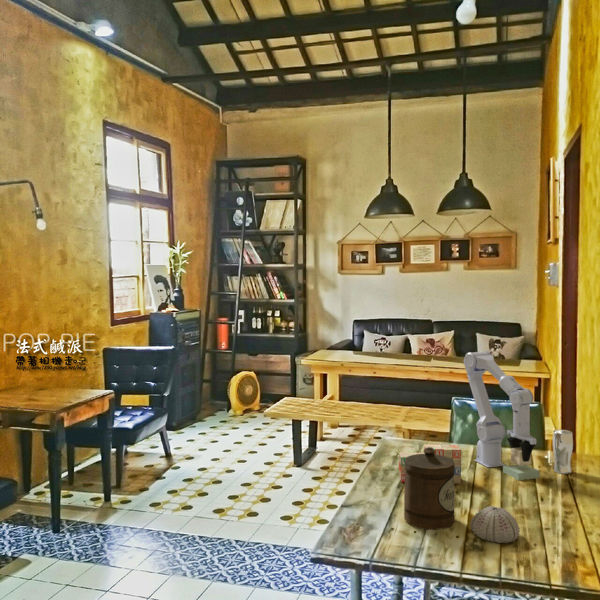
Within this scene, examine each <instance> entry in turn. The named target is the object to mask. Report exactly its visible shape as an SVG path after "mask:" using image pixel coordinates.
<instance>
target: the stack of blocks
mask: <svg viewBox="0 0 600 600" xmlns="http://www.w3.org/2000/svg"><path fill="white" fill-rule="evenodd" d="M427 447H431V448H433V449H434V450H435V454H436V455H442V456H446V457H449V458H451V459H452V460H453V461H454V463H455V472H454V484H462V449H461V447H460V446H459V445H458V444H456V445H455V444H452V445H451V444H423V450H424V449H426V448H427ZM416 454H425V453H424V452H399V453H398V477H399V480H401V481H400V482H401V483H405V459H406V458H407V457H408V456H411V455H416Z"/></svg>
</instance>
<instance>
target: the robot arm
mask: <svg viewBox="0 0 600 600" xmlns="http://www.w3.org/2000/svg"><path fill="white" fill-rule="evenodd" d="M463 364H464V368H465V371H466V377H467V379H468V380H467V381H468V384H469V387H470V389H471V393H472V397H473V401H474V403H475V405H476V409H477V412H478V416H479V419H478V420H477V422H476V424H475V425H476V434H477V437H478V439H479V440H478V441H477V443H476V459H474V461H475V462H477V463H478V464H480V465H483V466H485V467H486V468H496V467H503V466H507V465H506V464H505V463H504V462H502V442H503V439H504V438H505V437H506V436H509V437H506V438H507V441H508V444H509V446H510V449H511V448H519V447H521V450H522V458H523V461H524V462H526V461H529V459H530V455H531V456H532V452H533V450H534V448H535V447H536V445H537V438H536V437H533V435H531V434H530V423H531V422H530V421H531V420H530V418H531V415H530V411H531V410H530V409H531V407H530V405H532V403H533V401H534V394H533V393H532V390H531V389H529V388H525V387H523V386H522V385H520V383H518V381H517V380H516V379H515V377H514V376H513V375H512V376H511V375H509V374H507V373H505V372H504V371H503V370H502V369H501V366H499V365H498V363H497V362H496V361H495V357H494V355H492V354H491V352H489V351H487V350H485V351H475V352H474V351H473V352H470V351H469V352H466V354H465V356H464V359H463ZM486 372H488V373H490V374H491V375H492V376H493V377H494V378H495V379H496V381H498V385H499V387H500V388H501V389H502V390H503V391H504V393H506V394H507V396H508V397H509V402H510V404H511V409H512V429H507V430H506V428H505V426H504V425H503V424H502V421H501V419H500V418H499V417H497V416H496V415H494V412H493V411H494V410H493V409H492V405H491V402H490V398H489V395H488V392H487V389H486V386H485V383H484V379H483V376H484V374H485V373H486Z"/></svg>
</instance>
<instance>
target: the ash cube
mask: <svg viewBox="0 0 600 600" xmlns="http://www.w3.org/2000/svg"><path fill="white" fill-rule="evenodd" d="M510 462H511V463H512V464H514V465H516V464H517V465H519V466H521V465H528V466H530V465H532V454H531V455H530V459H529V461H526V462H524V461H523V458H522V450H521V447H519V448H511V447H510Z"/></svg>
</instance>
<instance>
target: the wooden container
mask: <svg viewBox="0 0 600 600" xmlns="http://www.w3.org/2000/svg"><path fill="white" fill-rule="evenodd" d="M423 453H425V454H416V455H411V456H408V457H407V458H406V459H405V482H404V490H403V491H404V494H403V495H404V498H403V499H404V502H403V503H404V505H403V506H404V509H403V511H404V512H403V513H404V514H403V515H404V517H403V518H404V520H406V521H405V522H406V523H408V524H409V525H411V526H413V527H415V528H418V527H419V528H418V529H423V528H424V529H425V530H443V529H448V528H450V527H452V526H453V525H454V523H455V508H456V507H455V502H456V501H455V500H456V494H455V483H454V472H455V463H454V461H453V460H452V459H451V458H449V457H446V456H442V455H436V454H435V450H434V449H433V448H431V447H427V448H426V449H424V448H423Z"/></svg>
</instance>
